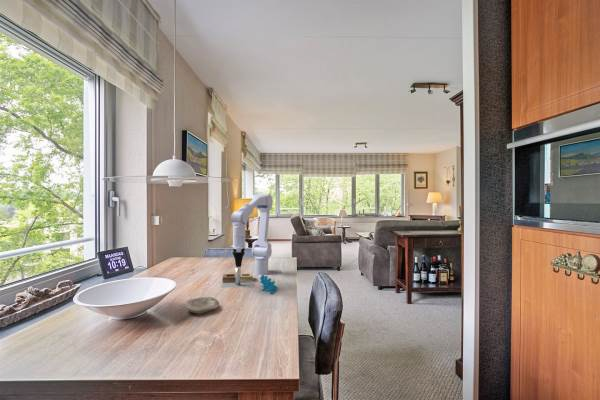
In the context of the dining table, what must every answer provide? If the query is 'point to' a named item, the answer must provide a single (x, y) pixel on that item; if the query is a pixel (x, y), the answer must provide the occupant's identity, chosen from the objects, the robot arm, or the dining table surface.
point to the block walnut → (229, 278)
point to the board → (243, 284)
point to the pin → (238, 276)
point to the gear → (268, 284)
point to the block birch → (246, 277)
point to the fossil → (201, 304)
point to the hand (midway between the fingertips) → (238, 265)
